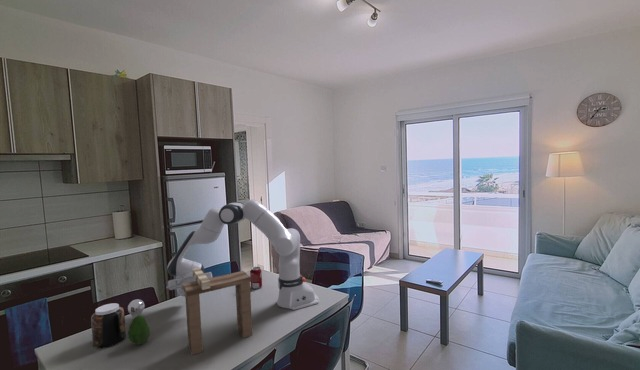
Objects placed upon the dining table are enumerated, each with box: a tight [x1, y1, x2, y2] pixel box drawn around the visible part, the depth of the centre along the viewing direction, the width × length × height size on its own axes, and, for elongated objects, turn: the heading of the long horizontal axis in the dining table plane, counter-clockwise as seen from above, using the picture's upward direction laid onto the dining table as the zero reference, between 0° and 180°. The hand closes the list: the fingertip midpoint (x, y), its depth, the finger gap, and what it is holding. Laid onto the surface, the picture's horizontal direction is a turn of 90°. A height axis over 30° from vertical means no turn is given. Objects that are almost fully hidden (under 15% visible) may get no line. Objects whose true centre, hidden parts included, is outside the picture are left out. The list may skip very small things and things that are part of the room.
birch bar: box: [192, 268, 210, 290], centre depth 133 cm, size 20×3×3 cm, turn 33°
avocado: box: [127, 315, 151, 345], centre depth 134 cm, size 8×8×12 cm
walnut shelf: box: [182, 270, 253, 356], centre depth 134 cm, size 10×26×26 cm, turn 123°
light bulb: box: [127, 298, 146, 320], centre depth 150 cm, size 7×7×12 cm
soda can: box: [249, 266, 263, 290], centre depth 191 cm, size 7×7×12 cm
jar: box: [90, 302, 127, 349], centre depth 136 cm, size 12×12×15 cm
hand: (192, 277), depth 149 cm, fingers open, 8 cm apart
